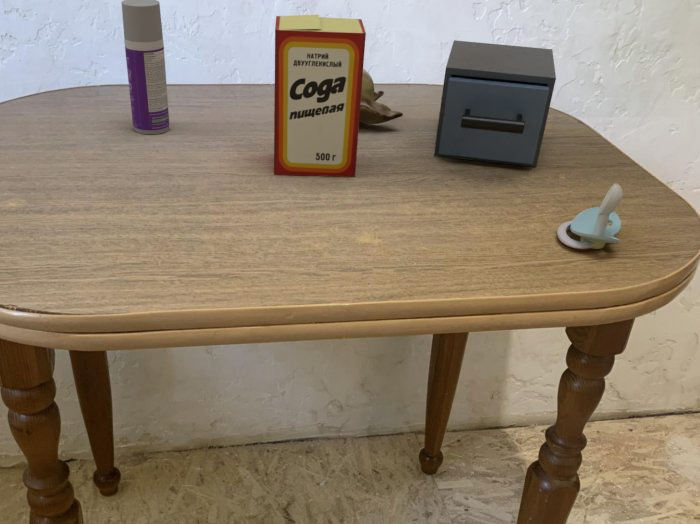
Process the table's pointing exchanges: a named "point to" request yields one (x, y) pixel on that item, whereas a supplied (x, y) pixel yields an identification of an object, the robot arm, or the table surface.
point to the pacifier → (595, 223)
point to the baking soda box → (317, 94)
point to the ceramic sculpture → (373, 104)
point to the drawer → (493, 119)
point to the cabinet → (499, 75)
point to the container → (146, 65)
